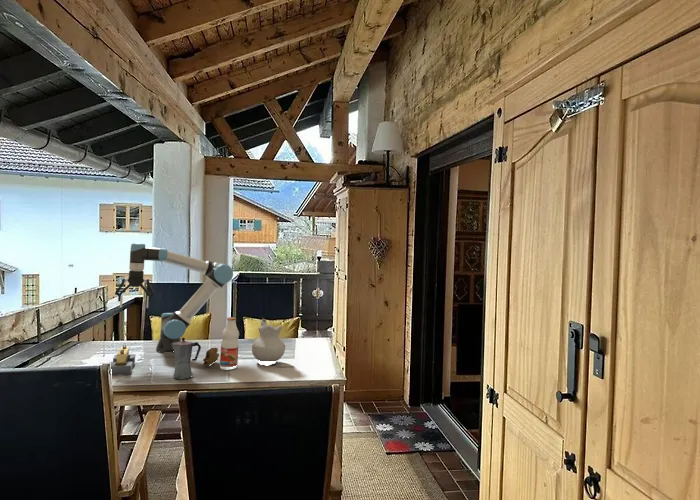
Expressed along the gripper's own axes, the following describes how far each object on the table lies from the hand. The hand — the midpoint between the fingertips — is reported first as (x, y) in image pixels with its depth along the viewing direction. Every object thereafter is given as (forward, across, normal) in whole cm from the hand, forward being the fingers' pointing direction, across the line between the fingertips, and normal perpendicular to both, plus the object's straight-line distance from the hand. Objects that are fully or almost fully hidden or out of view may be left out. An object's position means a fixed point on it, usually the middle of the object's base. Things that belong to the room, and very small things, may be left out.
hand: (134, 307), depth 249 cm
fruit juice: (+29, +51, -28) cm, 65 cm away
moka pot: (+29, +28, -41) cm, 57 cm away
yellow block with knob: (+27, -2, -22) cm, 35 cm away
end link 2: (+29, -2, -29) cm, 41 cm away
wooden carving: (+29, +42, -22) cm, 56 cm away
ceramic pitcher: (+29, +74, -20) cm, 82 cm away
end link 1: (+29, -2, -15) cm, 33 cm away
